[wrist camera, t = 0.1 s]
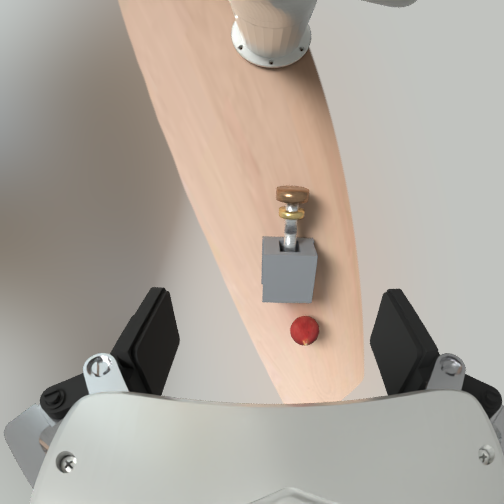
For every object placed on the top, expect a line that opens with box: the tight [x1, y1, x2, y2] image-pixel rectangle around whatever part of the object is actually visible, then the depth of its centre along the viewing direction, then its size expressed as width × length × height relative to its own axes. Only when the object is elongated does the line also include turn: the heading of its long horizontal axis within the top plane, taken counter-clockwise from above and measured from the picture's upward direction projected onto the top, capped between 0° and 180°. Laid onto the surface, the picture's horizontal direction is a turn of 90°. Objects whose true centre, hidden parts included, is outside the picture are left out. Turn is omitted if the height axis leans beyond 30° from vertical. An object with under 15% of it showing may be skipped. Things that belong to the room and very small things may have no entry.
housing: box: [262, 237, 318, 303], centre depth 48 cm, size 9×9×7 cm
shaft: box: [276, 186, 309, 252], centre depth 44 cm, size 13×5×5 cm, turn 0°
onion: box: [290, 316, 319, 345], centre depth 54 cm, size 6×6×8 cm
